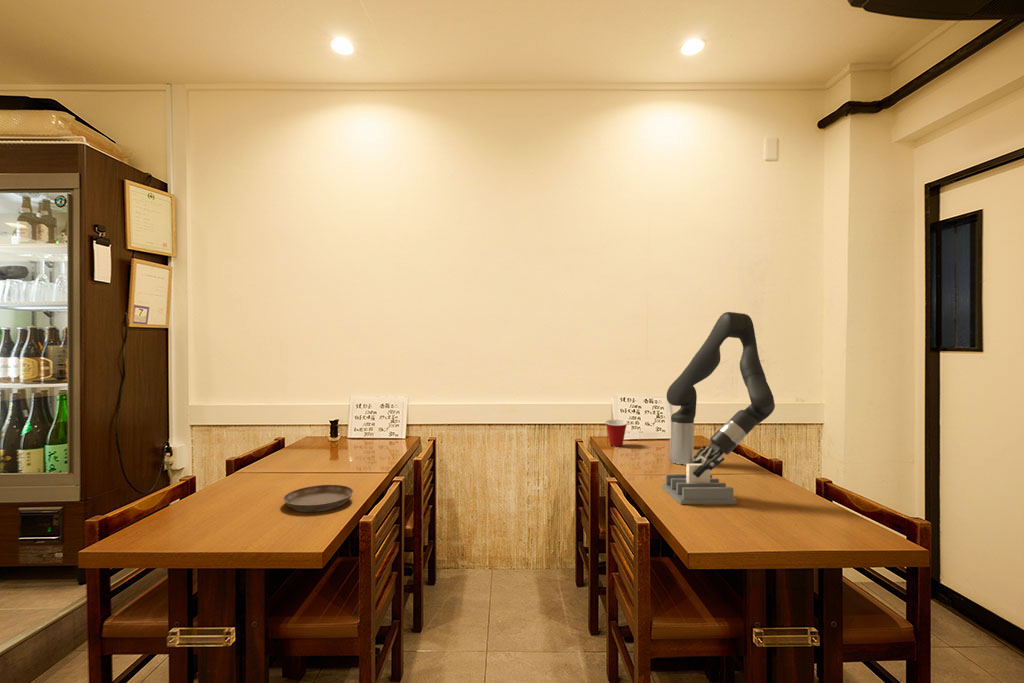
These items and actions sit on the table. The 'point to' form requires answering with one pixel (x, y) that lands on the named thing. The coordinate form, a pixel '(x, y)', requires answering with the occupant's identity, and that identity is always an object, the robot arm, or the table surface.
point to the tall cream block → (692, 478)
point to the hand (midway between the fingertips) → (692, 473)
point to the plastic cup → (616, 431)
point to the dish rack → (698, 491)
